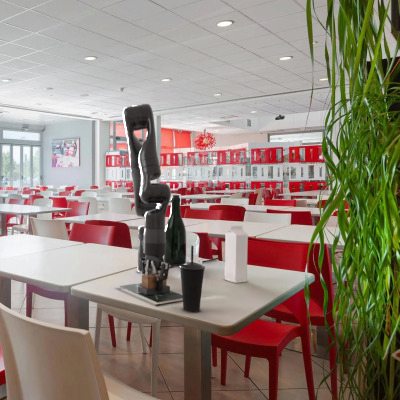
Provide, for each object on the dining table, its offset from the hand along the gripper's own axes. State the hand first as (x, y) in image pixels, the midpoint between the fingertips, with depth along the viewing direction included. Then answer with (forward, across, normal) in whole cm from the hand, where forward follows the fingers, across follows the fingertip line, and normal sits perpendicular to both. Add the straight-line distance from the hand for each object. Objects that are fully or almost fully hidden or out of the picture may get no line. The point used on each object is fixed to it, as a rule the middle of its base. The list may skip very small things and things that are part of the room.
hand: (154, 289), depth 146 cm
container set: (+2, +20, -35) cm, 40 cm away
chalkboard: (+2, +2, 0) cm, 3 cm away
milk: (+2, +3, -42) cm, 42 cm away
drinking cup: (+2, -18, 0) cm, 19 cm away
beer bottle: (+2, +41, -43) cm, 59 cm away
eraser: (+1, 0, 0) cm, 1 cm away
